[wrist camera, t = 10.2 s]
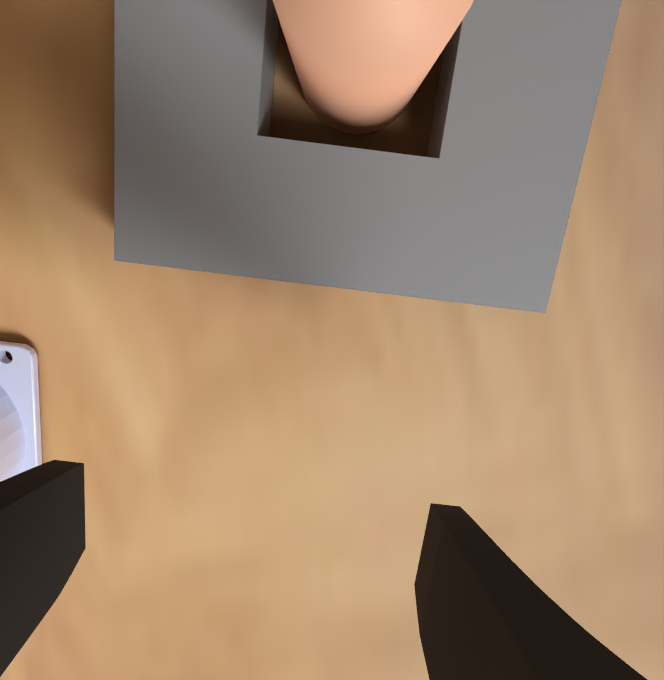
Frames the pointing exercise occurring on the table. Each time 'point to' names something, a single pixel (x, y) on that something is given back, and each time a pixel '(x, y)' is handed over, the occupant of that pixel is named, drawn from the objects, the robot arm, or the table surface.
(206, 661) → the table surface
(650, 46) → the table surface
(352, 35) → the peg
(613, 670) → the robot arm
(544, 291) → the hole board
